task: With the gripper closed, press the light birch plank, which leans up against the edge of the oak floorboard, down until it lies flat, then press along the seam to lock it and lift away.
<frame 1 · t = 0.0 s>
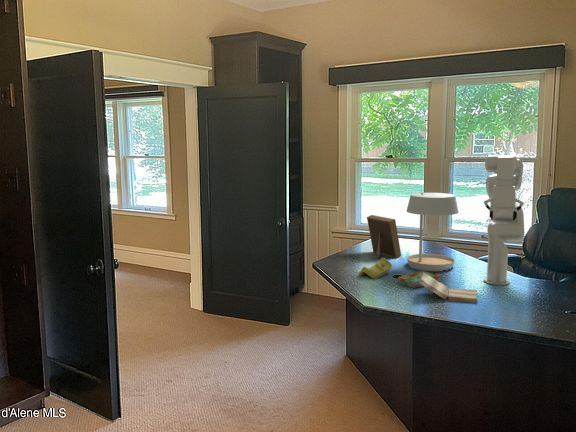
hand: (502, 219, 245), 37 cm above the table, tool pointing down, fingers open, 9 cm apart
birch plank: (434, 285, 252), point 5 cm above the table, hinge at 30.0°
lamp: (430, 266, 307), on the table
oak floorboard: (447, 296, 250), on the table
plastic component: (376, 274, 291), on the table
photo frame: (380, 256, 335), on the table
puzzle game: (419, 283, 273), on the table
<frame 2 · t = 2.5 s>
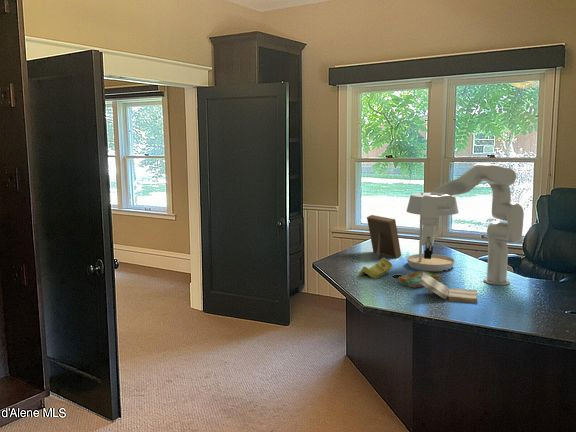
hand: (428, 256, 250), 19 cm above the table, tool pointing down, fingers open, 9 cm apart
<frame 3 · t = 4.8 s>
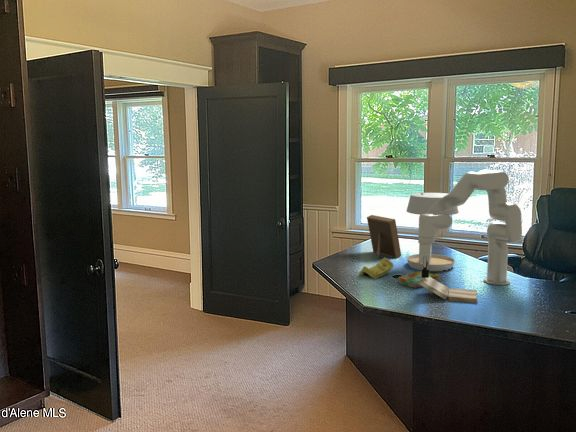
hand: (425, 277, 252), 9 cm above the table, tool pointing down, fingers closed
birch plank: (433, 285, 252), point 5 cm above the table, hinge at 28.2°, touching gripper
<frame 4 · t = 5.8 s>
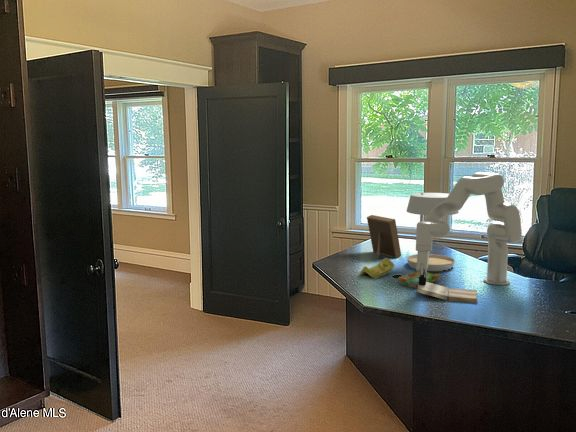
hand: (422, 284, 253), 5 cm above the table, tool pointing down, fingers closed
birch plank: (432, 289, 252), point 3 cm above the table, hinge at 11.5°, touching gripper
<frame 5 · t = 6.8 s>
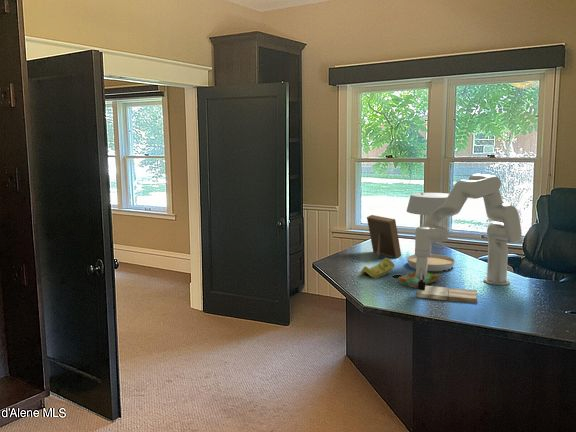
hand: (421, 289, 254), 2 cm above the table, tool pointing down, fingers closed
birch plank: (432, 292, 252), point 1 cm above the table, hinge at 1.1°, touching gripper
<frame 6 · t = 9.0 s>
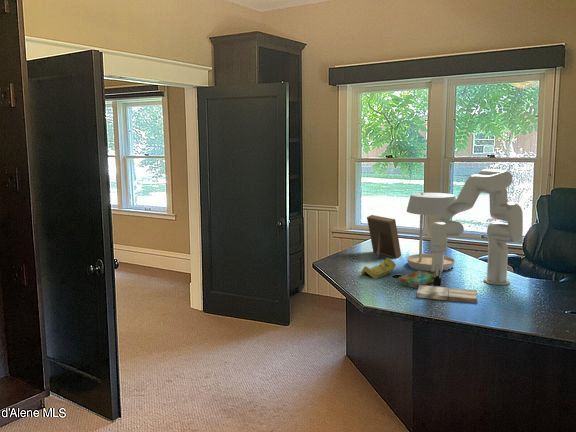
hand: (437, 285, 251), 5 cm above the table, tool pointing down, fingers closed
birch plank: (432, 292, 252), point 1 cm above the table, hinge at 1.0°
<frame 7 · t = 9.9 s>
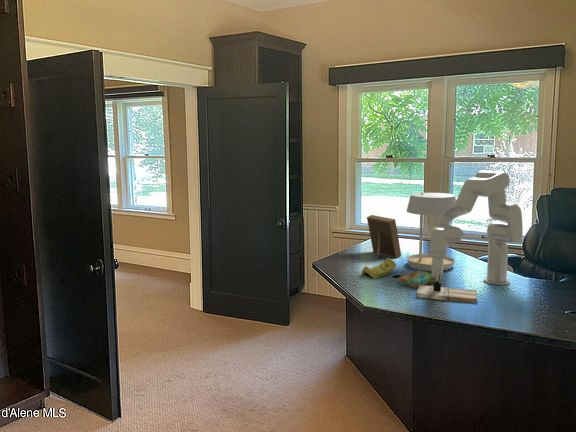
hand: (437, 290, 251), 2 cm above the table, tool pointing down, fingers closed
birch plank: (432, 292, 252), point 1 cm above the table, hinge at 1.0°, touching gripper
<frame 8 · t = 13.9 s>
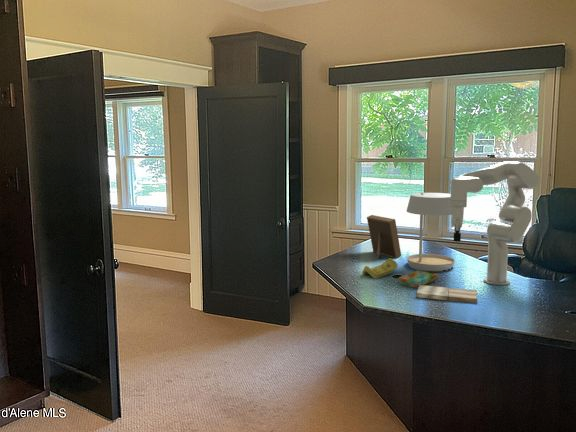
hand: (457, 240, 255), 25 cm above the table, tool pointing down, fingers closed
birch plank: (432, 292, 252), point 1 cm above the table, hinge at 1.0°
at the end: birch plank at +1° (first picture: +30°); puzzle game moved 1.0 cm from its start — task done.
